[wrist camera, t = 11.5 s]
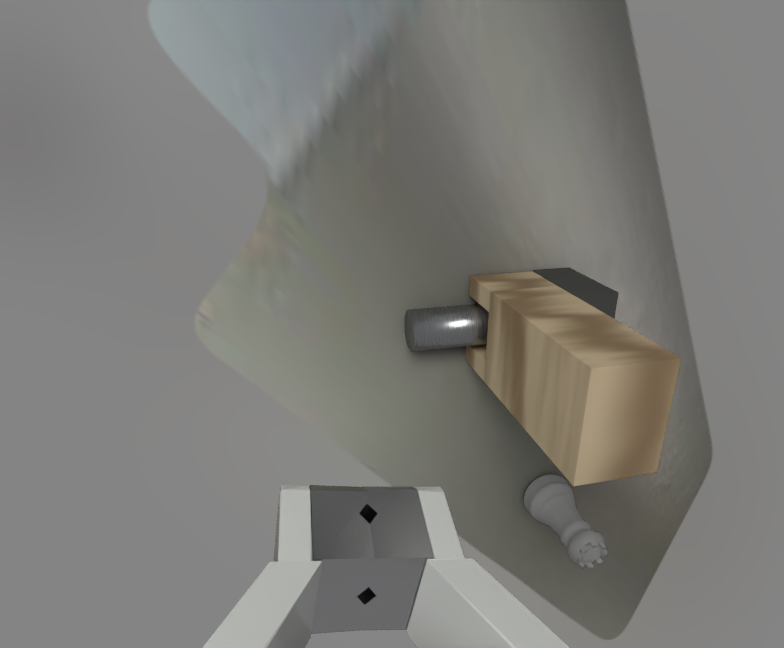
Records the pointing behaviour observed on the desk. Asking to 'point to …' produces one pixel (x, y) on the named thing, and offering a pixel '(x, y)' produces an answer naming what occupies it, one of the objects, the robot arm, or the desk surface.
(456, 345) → the grey metal rod
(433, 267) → the desk surface
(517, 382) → the tall wooden block
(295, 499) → the robot arm
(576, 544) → the rook chess piece
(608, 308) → the black block
